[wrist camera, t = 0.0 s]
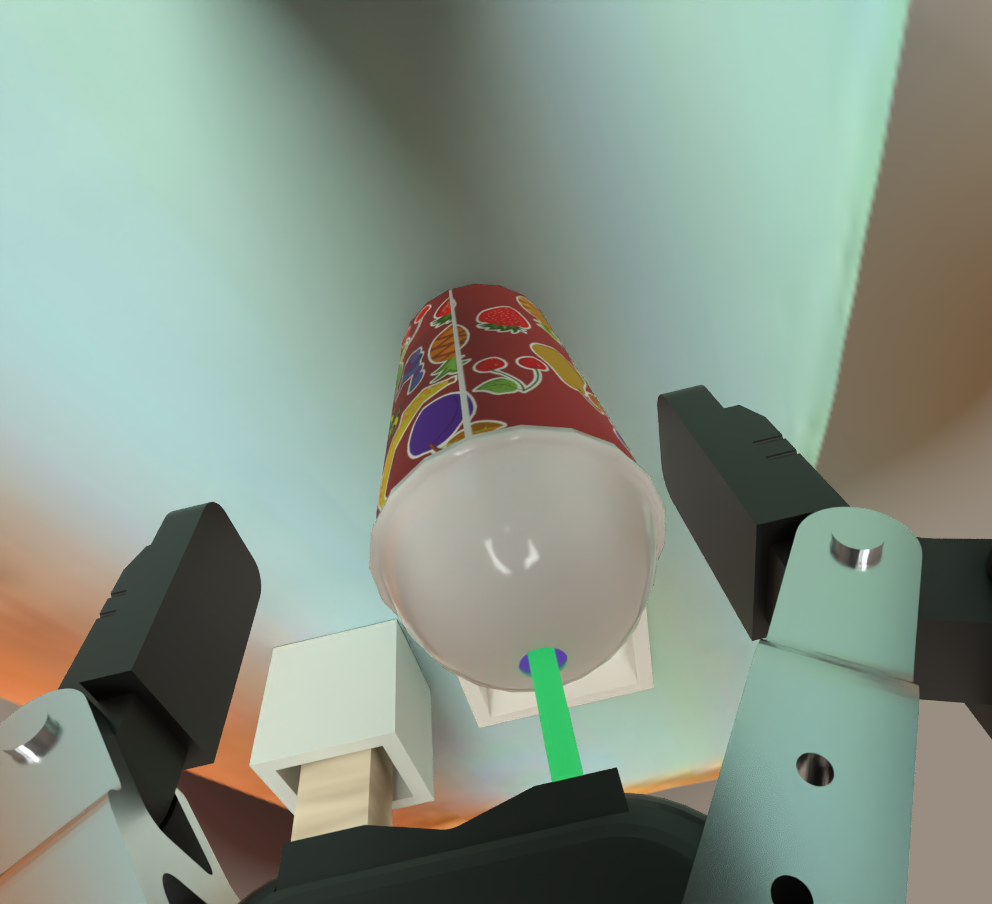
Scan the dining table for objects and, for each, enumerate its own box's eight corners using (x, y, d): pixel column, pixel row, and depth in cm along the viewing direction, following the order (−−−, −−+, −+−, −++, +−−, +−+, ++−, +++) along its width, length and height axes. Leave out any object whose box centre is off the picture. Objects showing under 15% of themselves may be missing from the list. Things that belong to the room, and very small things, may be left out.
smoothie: (346, 316, 27) (256, 771, 11) (514, 216, 25) (706, 575, 9) (445, 447, 32) (486, 904, 15) (592, 370, 30) (811, 789, 14)
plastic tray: (421, 553, 36) (422, 592, 33) (623, 505, 35) (639, 541, 33) (475, 688, 44) (479, 728, 41) (639, 650, 44) (653, 688, 41)
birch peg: (314, 672, 39) (284, 890, 29) (375, 658, 39) (365, 872, 29) (336, 706, 41) (315, 918, 32) (394, 693, 41) (390, 901, 32)
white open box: (273, 648, 39) (249, 765, 33) (396, 619, 39) (394, 731, 33) (320, 715, 44) (306, 829, 37) (430, 690, 43) (434, 800, 37)
